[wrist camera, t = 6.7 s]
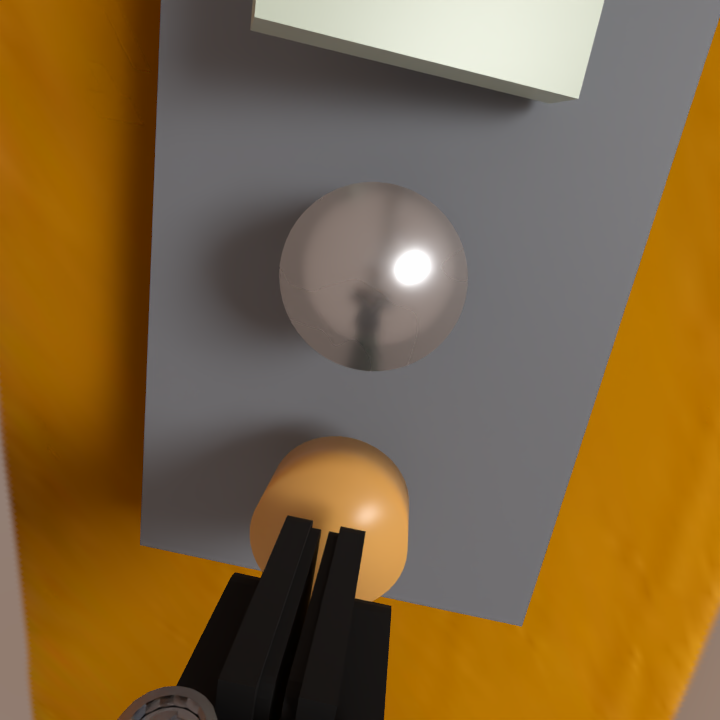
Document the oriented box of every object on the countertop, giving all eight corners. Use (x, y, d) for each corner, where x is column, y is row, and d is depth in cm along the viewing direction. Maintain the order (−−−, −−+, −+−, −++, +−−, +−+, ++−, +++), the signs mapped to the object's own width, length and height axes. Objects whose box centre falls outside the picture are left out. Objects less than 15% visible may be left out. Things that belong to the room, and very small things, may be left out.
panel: (218, -205, 13) (147, -346, 10) (723, -140, 12) (836, -265, 9) (175, 501, 19) (123, 566, 16) (508, 570, 18) (528, 653, 15)
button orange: (279, 423, 13) (257, 457, 11) (421, 451, 13) (421, 490, 11) (263, 543, 14) (242, 591, 13) (395, 571, 14) (391, 623, 12)
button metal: (310, 171, 11) (291, 166, 10) (478, 199, 11) (488, 200, 9) (290, 331, 12) (269, 353, 11) (442, 360, 12) (445, 386, 11)
